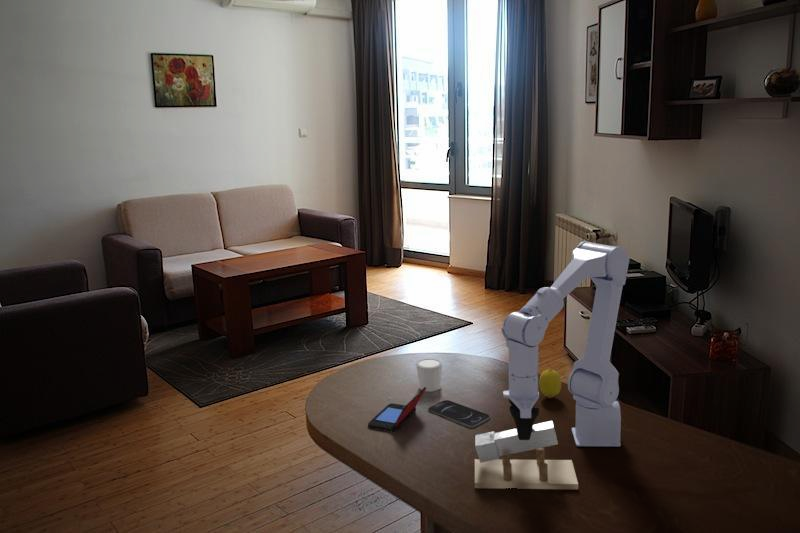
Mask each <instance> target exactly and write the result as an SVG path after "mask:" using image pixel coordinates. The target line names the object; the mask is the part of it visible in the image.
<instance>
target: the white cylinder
mask: <svg viewBox="0 0 800 533" xmlns="http://www.w3.org/2000/svg"><path fill="white" fill-rule="evenodd" d="M442 362H443V361H441V360H439V359H438V358H423V359H421V360H420V359H419V360H418V361H417V362H416V364H415V365H416V372H417V380H418V385H419V386H418V387H419V390H420V391H421V390H422V389H423V388H424V387H426V390H425V392H435V391H439V390H440V389H441V383H442V369H443V368H442V367H443V363H442Z"/></svg>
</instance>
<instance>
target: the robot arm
mask: <svg viewBox="0 0 800 533" xmlns="http://www.w3.org/2000/svg"><path fill="white" fill-rule="evenodd" d="M629 263H630V256H629V255H628V253H627V251H626V250H625V248H624V247H622V246H613V245H608V244H602V243H597V242H596V243H595V242H590V241H587V240H584V241H583V240H582V241H581V242H580V243H578V245H577V246H576V247H575V249H573V250H572V252H571V261H570V262H569V263H568V265H567V266H566V267H565V269H564V270H562V272H561V273H560V275H559V276H558V277H557V278H556V279H555V281H554V282H553V283H552V285H551V286H550V287H549V286H547V287H546V286H544V287H541V288H539V289H538V290H537V291H536V292H535V294H534V295H533V296H532V297H531V298H530V299H529V300H528V301H527V303H525V305H523V307H522V308H521V309H519V310H518V311H513V312H511V313H510V314H507V316H506V317H505V319H504V321H503V324H502V327H501V334H502V337H504V339H505V342H506V343H505V344H506V345H505V346H506V347H507V349H508V390H504V391H502V396H503V398H505V399H508V401H509V412H510V414H511V417H512V418H513V420H514V423H515V429H516V428H517V434H518V438H519V440H530V437H531V432H532V427H533V425H535V424H534V423H535V421H536V419H537V417H538V415H539V413H540V409H539V407H535V406H536V404H537V402H538V400H539V399H540V391H539V344H540V343H541V342H542V341H543V339H544V337H545V334H546V332H547V331H546V330H547V329H548V327H549V323H551V321H552V320H553V319H554V318H555V316H557V315H558V314H559V313H560V312H561V311H562V309H563V308H564V306H565V302H564V299H565V298H566V297H567V296H569V295H570V293H572V291H574V290H575V289H576V288H577V287H578V286H579V285H580V284H582V283H583V282H584V281H585V280H586V279H587V278H590V279H591V281H592V282H593V283H594V285H595V288H596V289H595V293H594V298H593V299H594V300H593V306H592V311H591V318H590V322H589V328H588V335H587V339H586V345H585V351H584V356H583V357H582V358H579V359H578V360H576V361H574V362H573V366H572V370H571V372H570V374H569V377H568V378H567V389H568V391H569V393H570V394H572V399H573V400H575V427H571V433H572V435H573V440H574V444H575V445H576V447H607V448H609V447H622V446H621V445H622V442H621V428H622V427H621V424H622V423H621V422H622V416H621V415H622V414H621V412H622V411H621V405H620V403H619V401H618V400H617V398H618V397H619V394H620V393H619V392H620V388H619V387H620V386H619V376H620V373H619V372H618V370H617V369H616V367H615V366H614V365H613V364H612V362H611V360H610V359H611V354H612V348H613V343H614V338H615V337H614V336H615V331H616V328H617V319H618V314H619V309H620V303H621V297H622V292H623V288H624V287H623V286H625V285H626V282H627V281H626V280H627V276H628V270H629Z"/></svg>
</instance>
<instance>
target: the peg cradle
mask: <svg viewBox="0 0 800 533" xmlns="http://www.w3.org/2000/svg"><path fill="white" fill-rule="evenodd" d="M545 452H546V451H545V447H543V448H538V449H536V459H511V454H509V455H504V456H501V458H502V459H496V460H491V461H487V462H482V463H480V461H479V458H478V459H477V458H474V488H475V489H503V490H504V489H506V488H507V489H508V488H510V489H511V488H517V489H520V490H523V489H524V490H528V489H529V490H579V482H578V478H577V475H576V471H575V470H576V469H575V467H574V463H573V459H545V454H546V453H545ZM517 489H516V490H517Z"/></svg>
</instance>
